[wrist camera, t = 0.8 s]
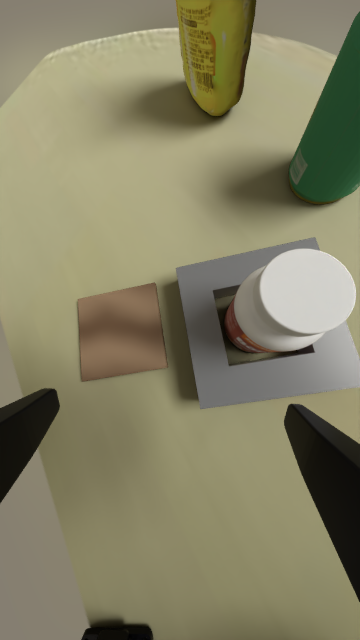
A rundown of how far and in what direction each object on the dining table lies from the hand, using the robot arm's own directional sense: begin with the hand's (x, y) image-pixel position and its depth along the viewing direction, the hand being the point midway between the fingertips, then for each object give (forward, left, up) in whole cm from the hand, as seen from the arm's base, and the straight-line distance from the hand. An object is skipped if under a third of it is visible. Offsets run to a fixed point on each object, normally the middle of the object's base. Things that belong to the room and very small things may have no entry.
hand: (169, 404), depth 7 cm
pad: (+6, +8, -13) cm, 16 cm away
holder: (+4, -7, -13) cm, 16 cm away
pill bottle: (+4, -7, -13) cm, 16 cm away
